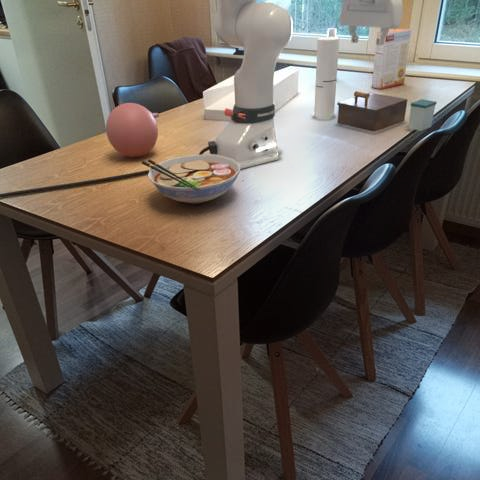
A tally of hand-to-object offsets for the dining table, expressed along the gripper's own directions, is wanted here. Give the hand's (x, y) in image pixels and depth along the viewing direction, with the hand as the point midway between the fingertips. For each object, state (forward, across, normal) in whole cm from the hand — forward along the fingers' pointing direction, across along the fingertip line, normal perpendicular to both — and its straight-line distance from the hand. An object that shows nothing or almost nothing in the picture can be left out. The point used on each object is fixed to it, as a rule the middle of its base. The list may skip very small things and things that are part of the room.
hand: (366, 43), depth 149 cm
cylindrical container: (+25, -18, +3) cm, 31 cm away
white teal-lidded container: (+25, +16, +11) cm, 32 cm away
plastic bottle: (+25, -60, +55) cm, 85 cm away
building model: (+25, -51, -1) cm, 57 cm away
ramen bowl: (+25, +6, -73) cm, 77 cm away
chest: (+25, 0, +6) cm, 26 cm away
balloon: (+25, -35, -64) cm, 77 cm away
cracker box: (+25, -29, +57) cm, 69 cm away
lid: (+18, 0, +6) cm, 19 cm away
